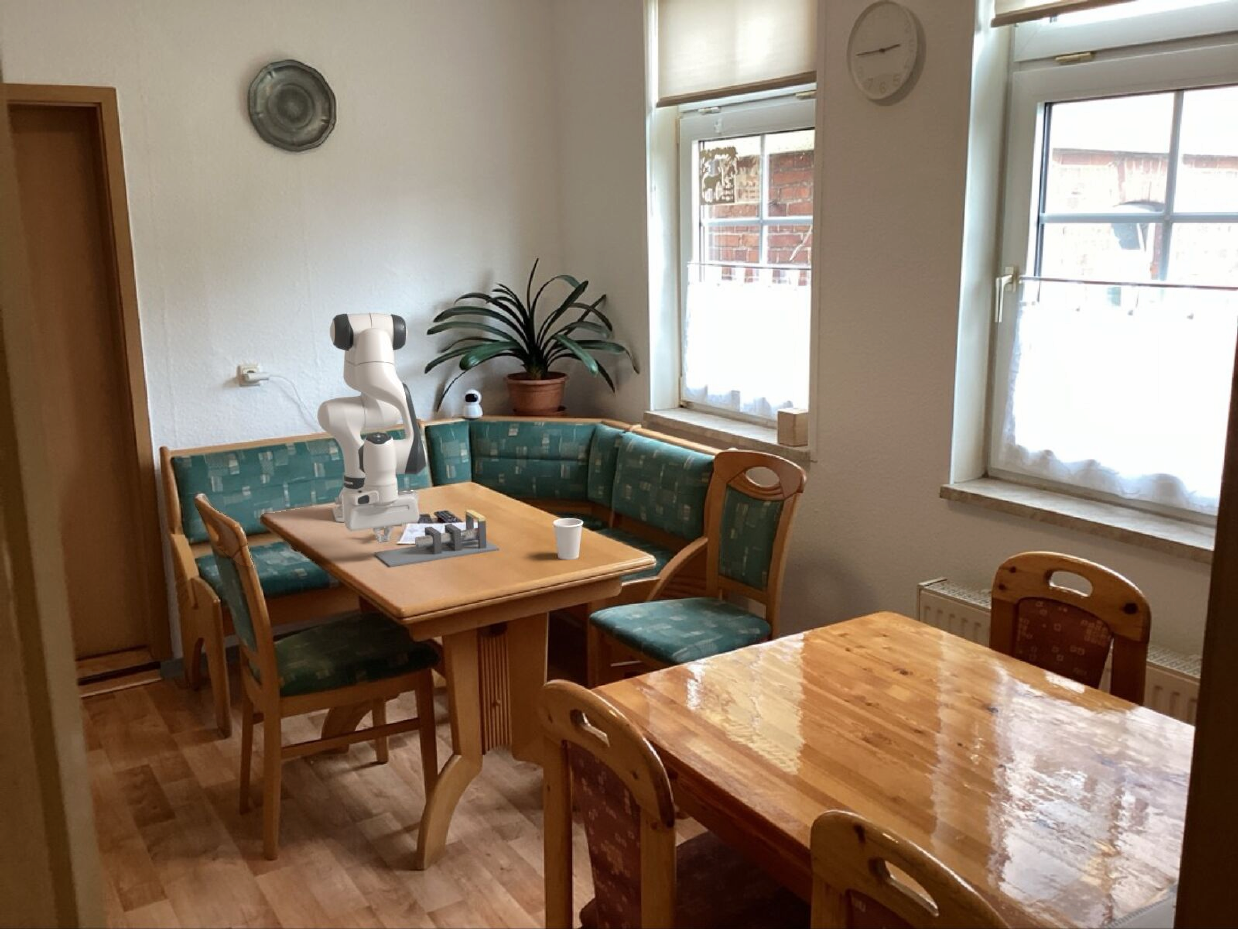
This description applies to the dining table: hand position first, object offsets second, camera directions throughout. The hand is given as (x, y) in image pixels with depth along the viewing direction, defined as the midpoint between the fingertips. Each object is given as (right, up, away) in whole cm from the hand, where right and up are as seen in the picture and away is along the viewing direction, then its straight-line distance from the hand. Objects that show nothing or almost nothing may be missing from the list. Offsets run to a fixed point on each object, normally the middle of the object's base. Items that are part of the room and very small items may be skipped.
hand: (383, 541), depth 295 cm
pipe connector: (-4, -1, +21) cm, 21 cm away
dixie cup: (+51, -5, +3) cm, 51 cm away
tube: (+17, -1, +10) cm, 20 cm away
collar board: (+13, -4, +8) cm, 16 cm away
